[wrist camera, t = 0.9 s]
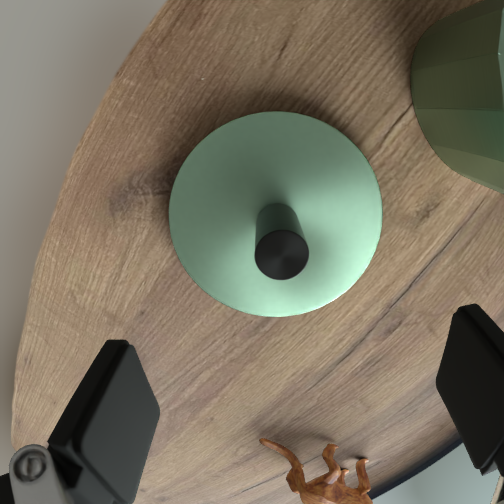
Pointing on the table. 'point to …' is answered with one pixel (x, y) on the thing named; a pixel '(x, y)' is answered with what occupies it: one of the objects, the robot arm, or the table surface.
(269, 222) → the tin lid
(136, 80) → the table surface
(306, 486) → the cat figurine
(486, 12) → the tin
